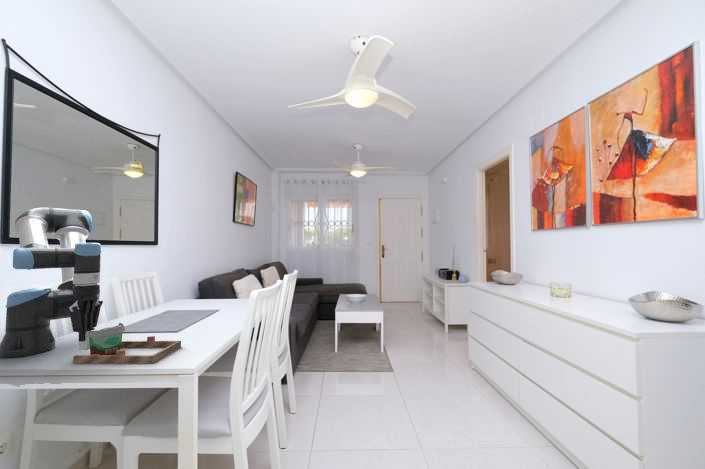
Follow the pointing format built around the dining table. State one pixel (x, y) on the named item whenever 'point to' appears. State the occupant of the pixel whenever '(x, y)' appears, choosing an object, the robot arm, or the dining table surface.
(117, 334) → the food container
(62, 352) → the dining table surface
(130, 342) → the slot rails
